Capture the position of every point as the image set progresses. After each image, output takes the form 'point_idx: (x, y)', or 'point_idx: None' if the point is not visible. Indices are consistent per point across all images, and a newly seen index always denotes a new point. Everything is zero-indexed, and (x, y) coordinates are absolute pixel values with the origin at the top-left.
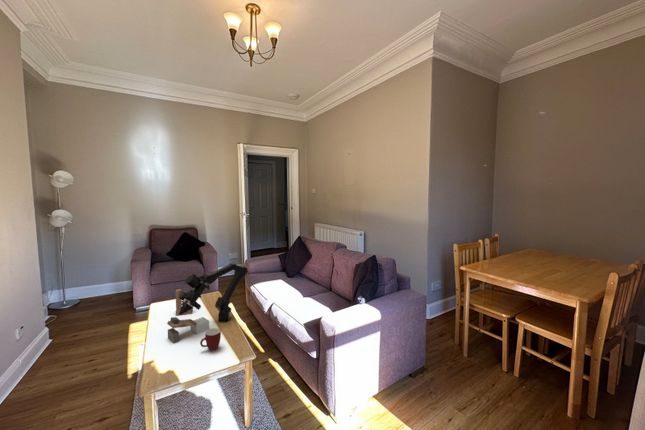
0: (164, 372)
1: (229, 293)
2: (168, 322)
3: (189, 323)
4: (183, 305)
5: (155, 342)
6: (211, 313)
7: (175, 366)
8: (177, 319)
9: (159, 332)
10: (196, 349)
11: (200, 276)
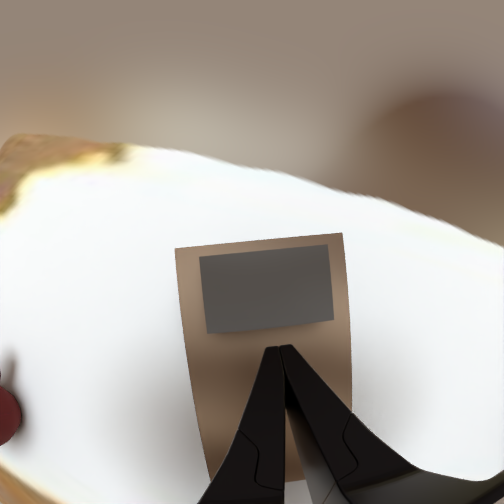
0: (19, 186)
1: None
2: (316, 235)
3: (209, 431)
4: (341, 485)
5: (306, 205)
6: None
7: (14, 227)
8: (221, 306)
9: (423, 257)
10: (48, 356)
11: None
